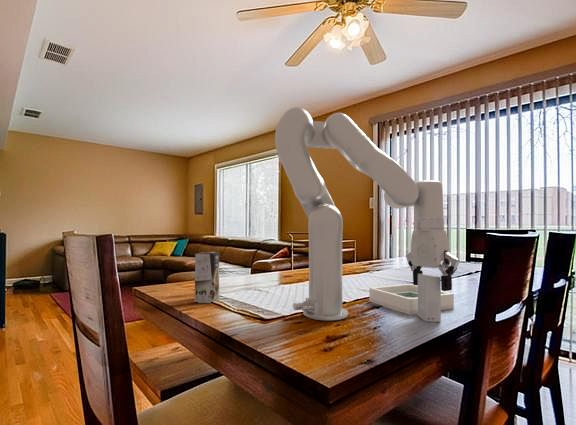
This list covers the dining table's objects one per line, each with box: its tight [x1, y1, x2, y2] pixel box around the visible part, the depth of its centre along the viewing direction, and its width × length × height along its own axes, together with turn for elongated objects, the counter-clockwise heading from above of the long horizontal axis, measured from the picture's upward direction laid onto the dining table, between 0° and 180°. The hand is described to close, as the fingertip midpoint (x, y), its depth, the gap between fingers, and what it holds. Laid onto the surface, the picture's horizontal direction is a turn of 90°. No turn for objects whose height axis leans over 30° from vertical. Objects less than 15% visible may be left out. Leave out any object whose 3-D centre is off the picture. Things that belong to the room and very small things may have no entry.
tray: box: [368, 283, 455, 316], centre depth 108 cm, size 18×18×4 cm
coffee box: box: [193, 251, 220, 304], centre depth 114 cm, size 9×6×16 cm
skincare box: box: [417, 273, 442, 323], centre depth 93 cm, size 6×4×12 cm
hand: (431, 287), depth 93 cm, fingers open, 9 cm apart
